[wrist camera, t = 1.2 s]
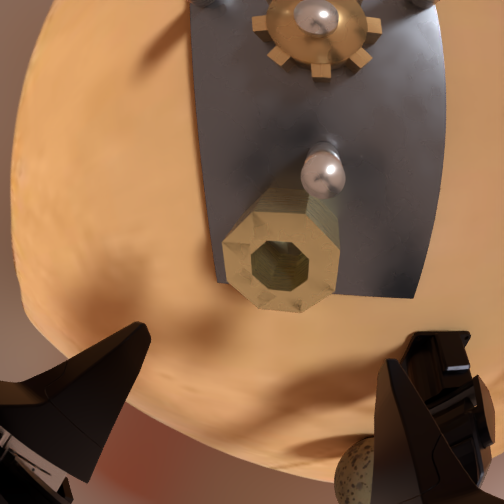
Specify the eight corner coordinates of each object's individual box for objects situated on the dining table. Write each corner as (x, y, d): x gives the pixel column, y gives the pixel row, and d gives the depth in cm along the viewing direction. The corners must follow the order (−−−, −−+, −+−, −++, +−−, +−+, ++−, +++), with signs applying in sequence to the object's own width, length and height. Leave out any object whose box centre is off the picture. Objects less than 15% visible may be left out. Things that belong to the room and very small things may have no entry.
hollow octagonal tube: (332, 276, 18) (331, 315, 15) (247, 269, 20) (230, 304, 16) (339, 191, 15) (343, 216, 12) (241, 187, 17) (218, 210, 13)
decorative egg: (418, 431, 29) (417, 515, 16) (372, 452, 34) (364, 524, 22) (372, 420, 28) (363, 521, 16) (325, 442, 34) (310, 524, 22)
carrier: (410, 290, 18) (427, 349, 13) (221, 275, 22) (191, 326, 17) (422, -20, 7) (453, -56, 2) (195, -20, 11) (147, -52, 6)
